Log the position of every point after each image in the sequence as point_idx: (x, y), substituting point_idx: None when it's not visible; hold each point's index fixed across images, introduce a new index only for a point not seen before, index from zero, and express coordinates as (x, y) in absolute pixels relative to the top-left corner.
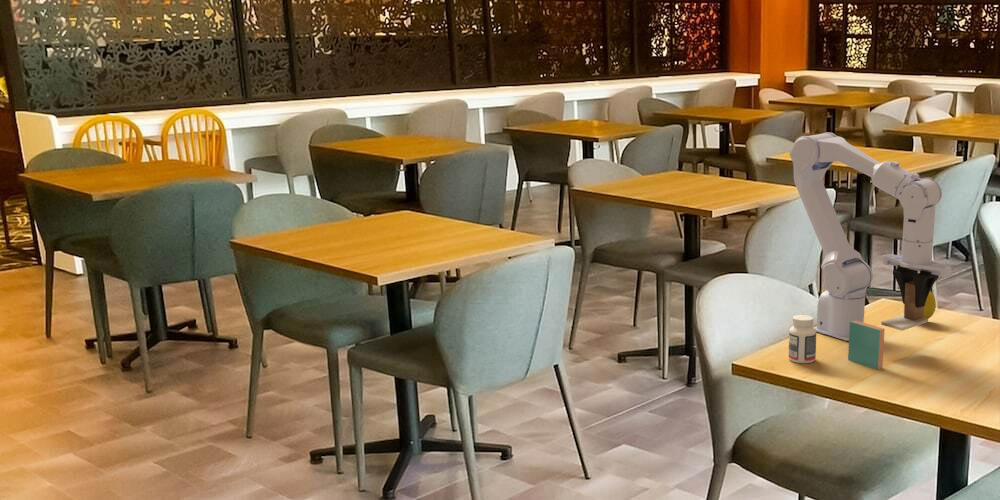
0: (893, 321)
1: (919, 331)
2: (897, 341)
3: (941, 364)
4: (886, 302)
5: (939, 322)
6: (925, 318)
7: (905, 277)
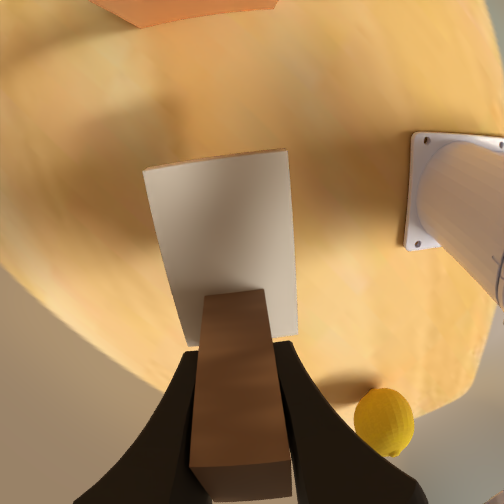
0: (252, 208)
1: (338, 358)
2: (322, 267)
3: (89, 223)
4: (464, 391)
5: (345, 410)
6: (361, 399)
7: (305, 501)
